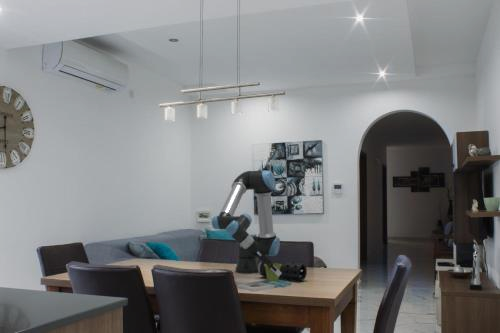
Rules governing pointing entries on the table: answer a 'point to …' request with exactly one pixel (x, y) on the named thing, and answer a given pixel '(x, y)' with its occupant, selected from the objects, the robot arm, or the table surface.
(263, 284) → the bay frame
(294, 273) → the muzzle brake
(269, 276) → the plant pot
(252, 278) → the table surface
